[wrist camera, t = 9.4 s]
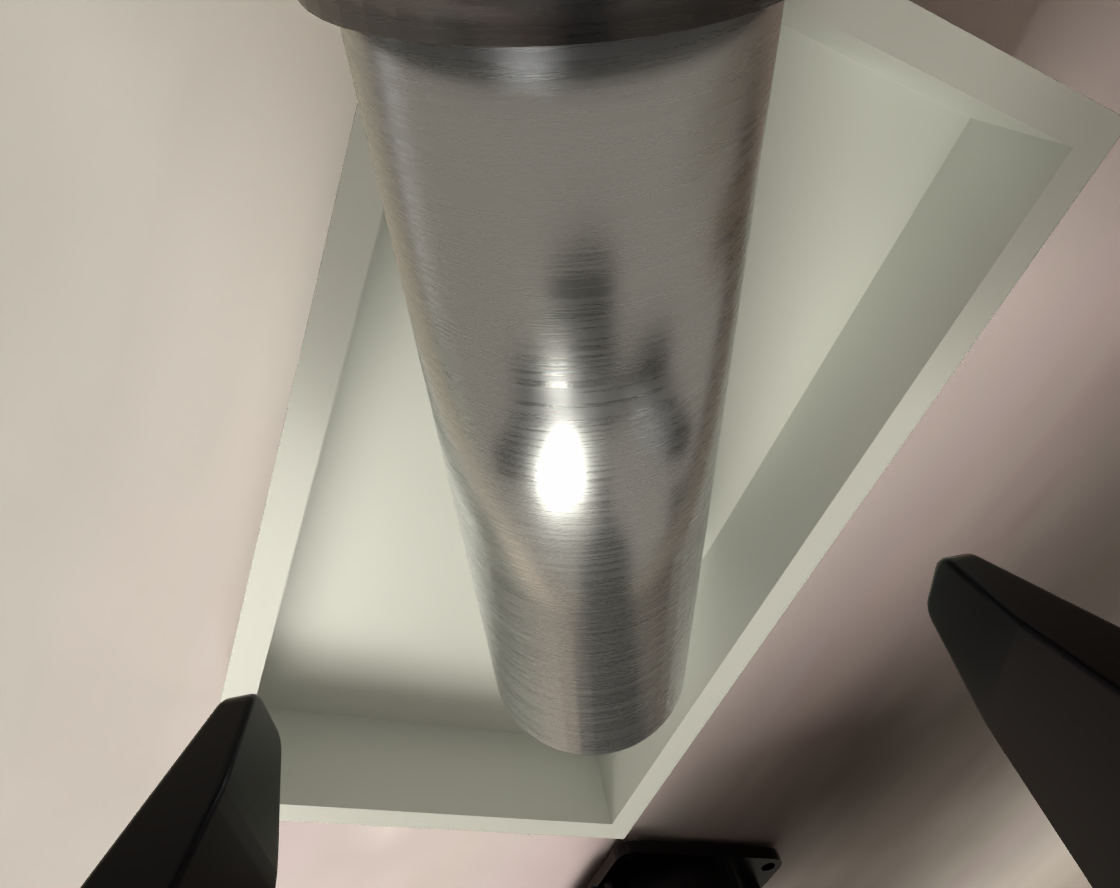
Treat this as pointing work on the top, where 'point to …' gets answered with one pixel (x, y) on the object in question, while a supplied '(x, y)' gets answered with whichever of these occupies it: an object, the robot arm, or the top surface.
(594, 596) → the strut
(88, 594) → the top surface
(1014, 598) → the robot arm
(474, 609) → the tray
